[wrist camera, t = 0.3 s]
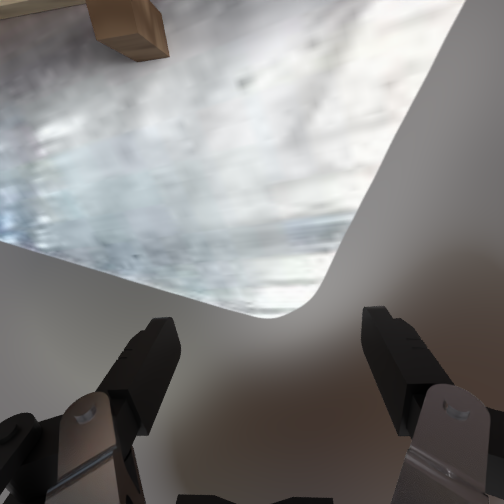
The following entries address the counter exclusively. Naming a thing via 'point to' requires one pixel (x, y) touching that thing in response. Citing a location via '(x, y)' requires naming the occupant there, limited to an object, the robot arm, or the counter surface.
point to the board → (32, 6)
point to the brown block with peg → (129, 28)
